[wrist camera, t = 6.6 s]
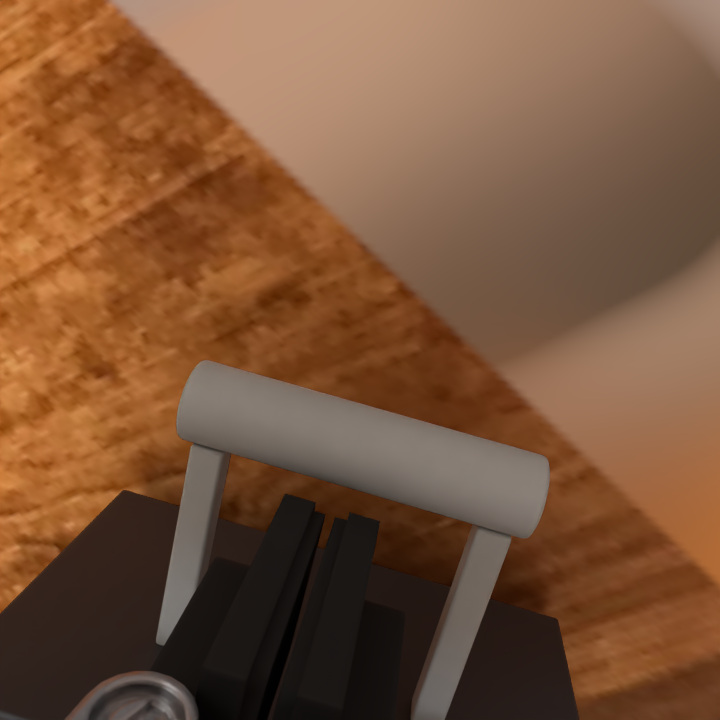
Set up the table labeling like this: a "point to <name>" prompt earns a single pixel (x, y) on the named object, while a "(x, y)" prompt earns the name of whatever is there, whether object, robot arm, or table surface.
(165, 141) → the table surface
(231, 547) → the drawer
